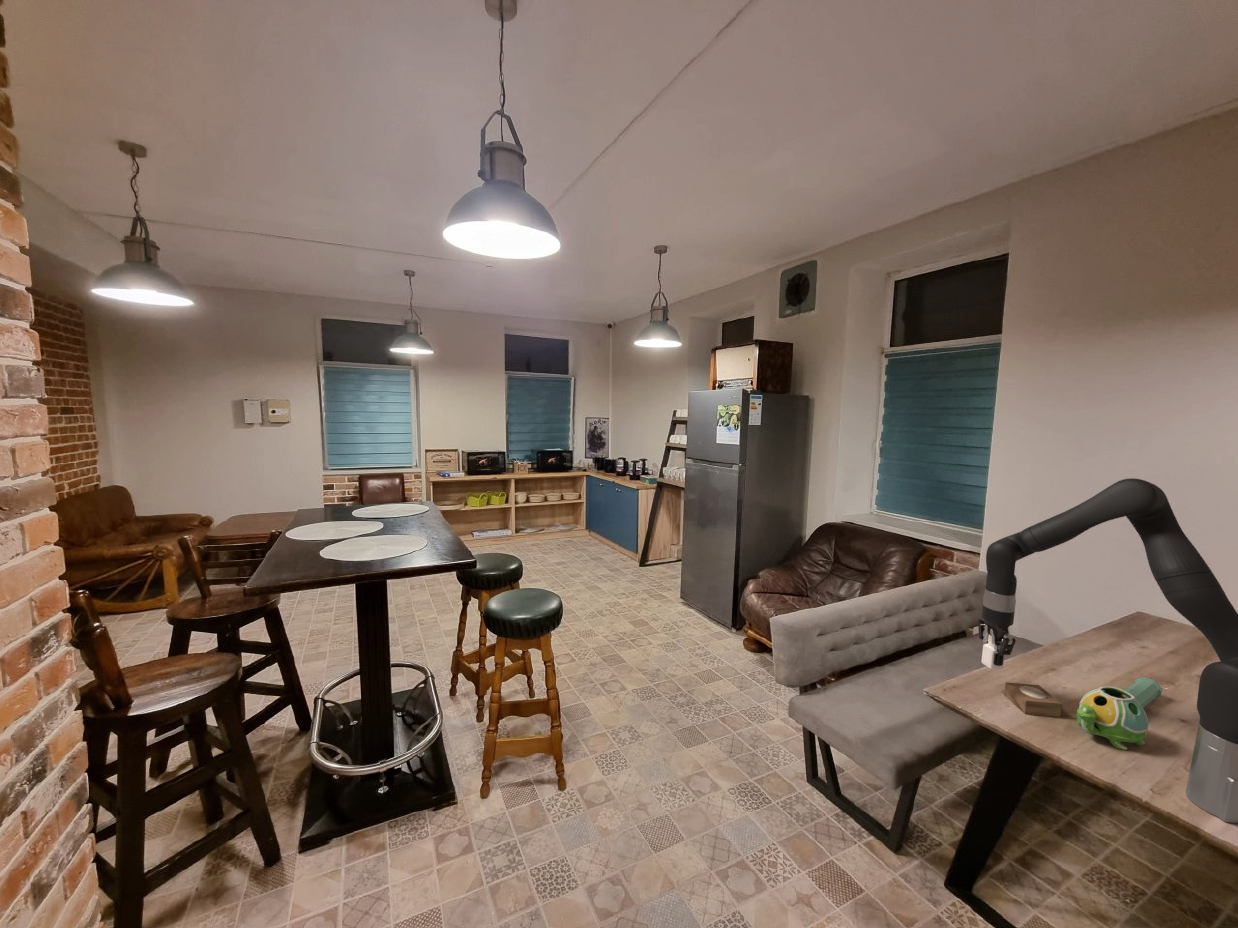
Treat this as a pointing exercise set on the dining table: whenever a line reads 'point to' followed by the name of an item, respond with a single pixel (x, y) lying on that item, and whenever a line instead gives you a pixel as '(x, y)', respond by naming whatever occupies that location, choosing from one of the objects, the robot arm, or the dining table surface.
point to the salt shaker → (989, 654)
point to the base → (1032, 699)
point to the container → (1144, 690)
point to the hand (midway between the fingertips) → (992, 660)
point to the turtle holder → (1113, 716)
